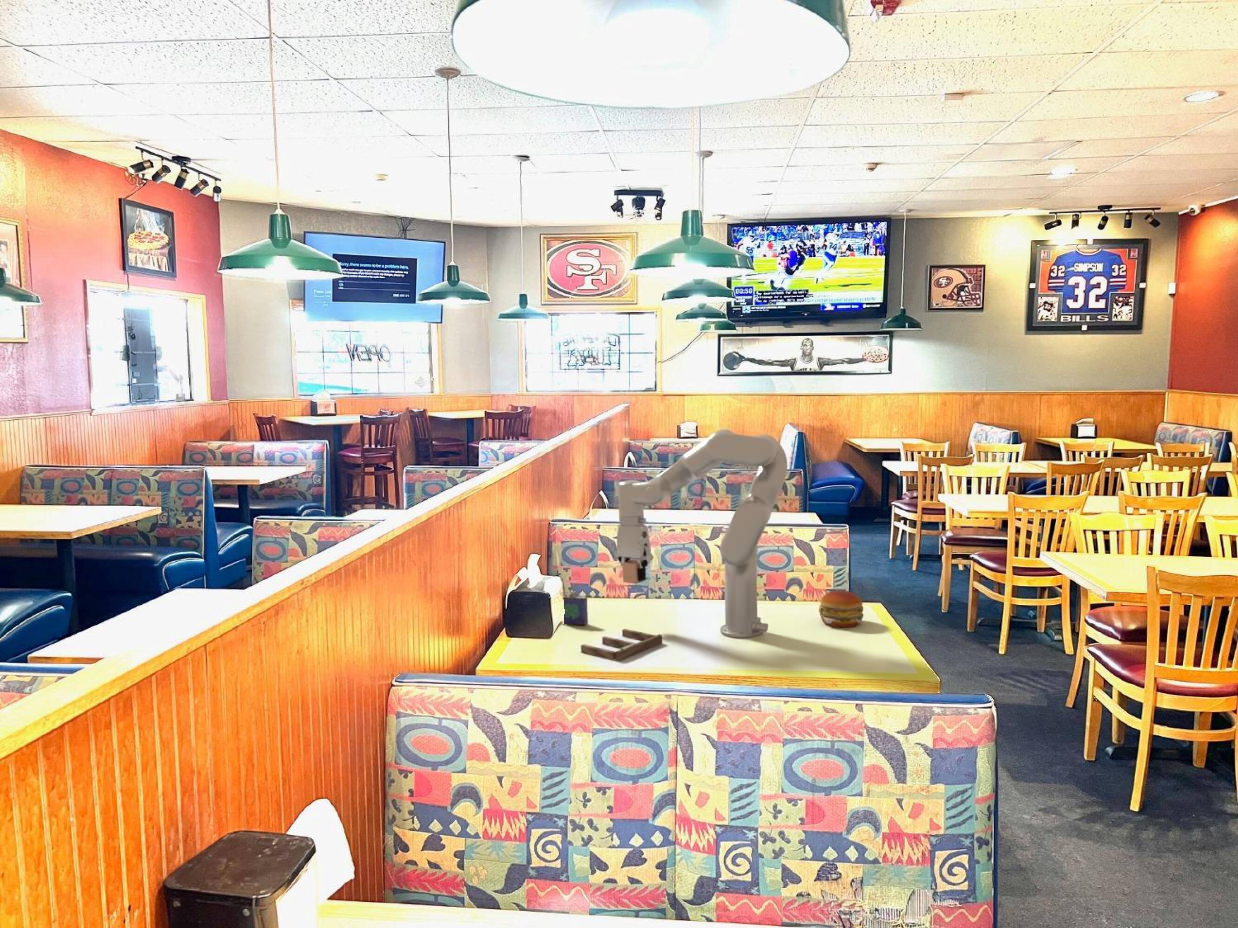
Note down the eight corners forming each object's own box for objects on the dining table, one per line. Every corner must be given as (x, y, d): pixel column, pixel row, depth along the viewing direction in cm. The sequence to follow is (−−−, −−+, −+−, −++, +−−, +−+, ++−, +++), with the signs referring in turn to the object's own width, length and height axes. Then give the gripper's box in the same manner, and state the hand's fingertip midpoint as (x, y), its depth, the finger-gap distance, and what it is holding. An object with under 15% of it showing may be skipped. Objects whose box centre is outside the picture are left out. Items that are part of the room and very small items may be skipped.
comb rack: (662, 643, 257) (662, 633, 257) (619, 661, 242) (618, 650, 242) (625, 635, 266) (624, 625, 265) (581, 652, 251) (580, 642, 251)
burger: (846, 632, 262) (846, 599, 261) (809, 623, 272) (809, 591, 271) (872, 623, 271) (872, 591, 270) (835, 615, 281) (835, 584, 280)
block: (646, 580, 273) (645, 561, 272) (635, 583, 269) (634, 564, 268) (633, 578, 276) (632, 559, 275) (623, 581, 272) (622, 562, 271)
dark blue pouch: (589, 624, 279) (588, 590, 278) (585, 626, 276) (584, 593, 275) (562, 621, 282) (561, 588, 281) (558, 624, 280) (557, 591, 279)
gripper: (661, 520, 268) (664, 579, 270) (618, 517, 279) (621, 574, 281) (646, 524, 262) (649, 584, 264) (602, 521, 273) (605, 578, 275)
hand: (634, 578), depth 272 cm, fingers closed on block, 5 cm apart
